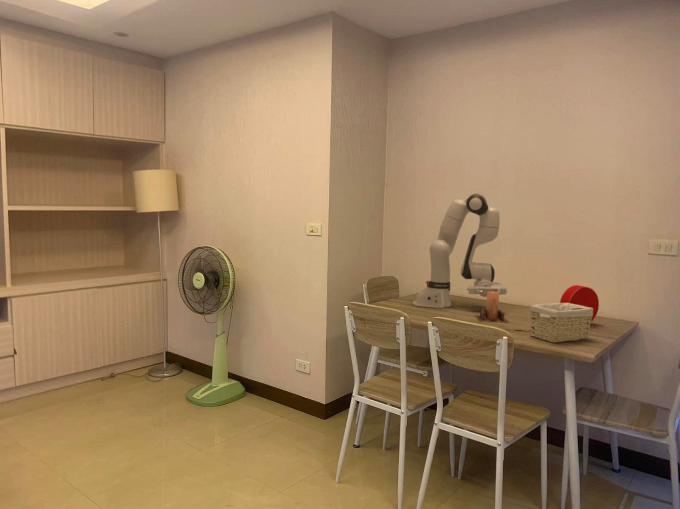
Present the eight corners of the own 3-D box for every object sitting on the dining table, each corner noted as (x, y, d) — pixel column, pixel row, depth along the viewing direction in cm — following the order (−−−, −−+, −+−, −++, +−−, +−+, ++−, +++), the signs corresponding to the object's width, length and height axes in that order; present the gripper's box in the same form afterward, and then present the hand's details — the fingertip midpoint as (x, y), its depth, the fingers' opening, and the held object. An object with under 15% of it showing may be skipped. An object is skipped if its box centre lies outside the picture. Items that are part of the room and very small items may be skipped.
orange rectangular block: (487, 321, 262) (489, 293, 261) (484, 317, 270) (486, 291, 269) (500, 321, 261) (501, 294, 260) (496, 318, 270) (497, 291, 268)
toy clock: (588, 322, 271) (590, 284, 269) (597, 325, 265) (600, 286, 263) (558, 324, 263) (560, 285, 262) (566, 327, 258) (569, 287, 256)
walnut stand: (479, 324, 260) (479, 313, 260) (474, 317, 275) (474, 307, 275) (510, 325, 259) (510, 315, 259) (503, 318, 274) (504, 309, 273)
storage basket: (563, 331, 249) (566, 301, 248) (593, 340, 235) (595, 307, 233) (526, 336, 239) (528, 304, 238) (554, 345, 224) (557, 311, 223)
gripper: (466, 282, 292) (469, 286, 279) (503, 283, 291) (509, 286, 277) (465, 294, 293) (469, 298, 279) (503, 294, 291) (508, 298, 277)
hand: (489, 292), depth 278 cm, fingers open, 8 cm apart
